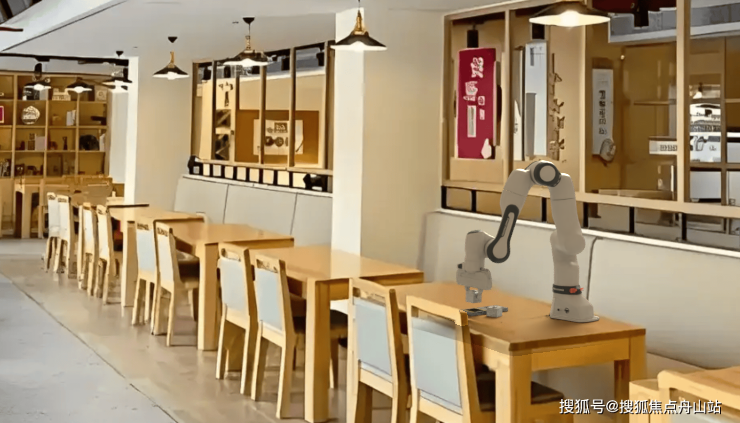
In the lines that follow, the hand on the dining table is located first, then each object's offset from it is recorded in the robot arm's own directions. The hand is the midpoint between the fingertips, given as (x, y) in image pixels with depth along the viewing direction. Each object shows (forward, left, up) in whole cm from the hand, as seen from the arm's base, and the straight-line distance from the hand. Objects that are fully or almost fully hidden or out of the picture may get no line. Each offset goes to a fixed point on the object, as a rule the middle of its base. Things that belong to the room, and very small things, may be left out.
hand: (473, 297), depth 387 cm
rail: (0, -6, -8) cm, 10 cm away
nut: (-9, -4, -8) cm, 13 cm away
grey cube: (0, 0, -2) cm, 2 cm away
